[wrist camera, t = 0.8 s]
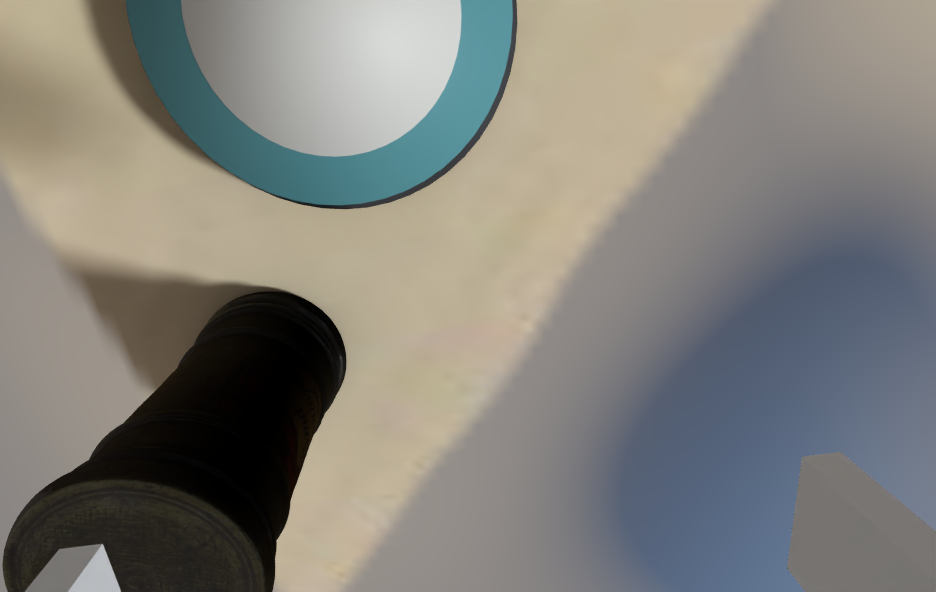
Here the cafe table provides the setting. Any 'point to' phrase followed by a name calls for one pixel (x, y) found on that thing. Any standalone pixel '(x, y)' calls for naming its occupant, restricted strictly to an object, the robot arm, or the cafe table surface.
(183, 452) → the container
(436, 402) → the cafe table surface
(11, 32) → the cafe table surface
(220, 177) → the cafe table surface
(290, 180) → the turntable
